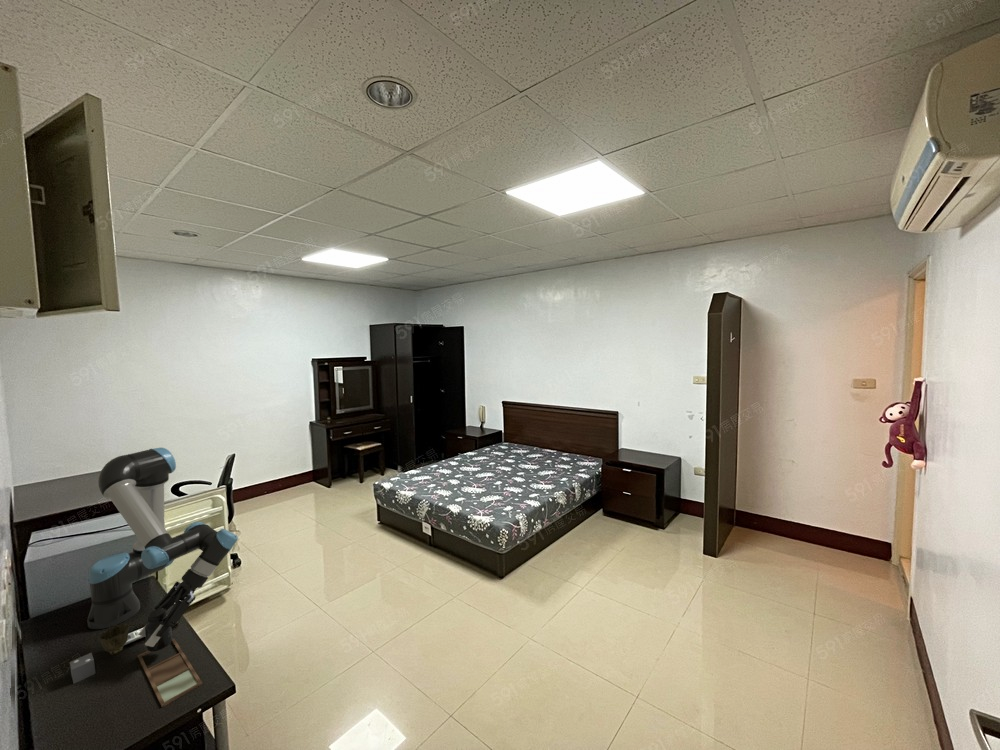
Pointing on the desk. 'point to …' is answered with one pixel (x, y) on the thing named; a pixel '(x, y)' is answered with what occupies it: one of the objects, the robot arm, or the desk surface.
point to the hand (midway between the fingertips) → (145, 640)
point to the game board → (171, 676)
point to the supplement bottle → (153, 623)
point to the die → (82, 668)
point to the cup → (114, 638)
